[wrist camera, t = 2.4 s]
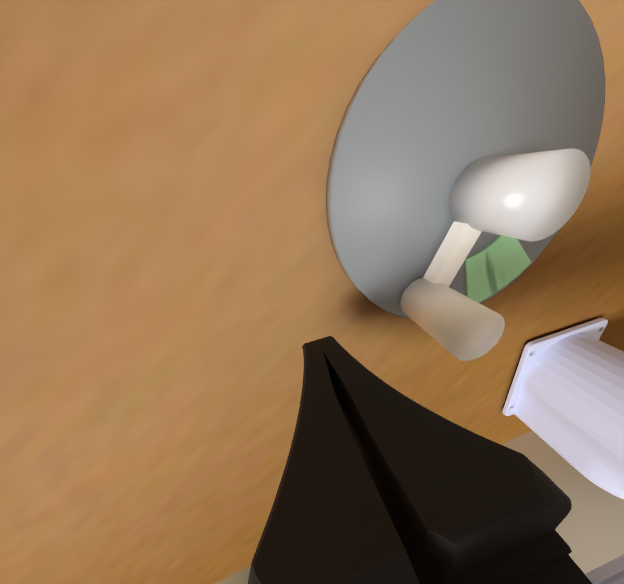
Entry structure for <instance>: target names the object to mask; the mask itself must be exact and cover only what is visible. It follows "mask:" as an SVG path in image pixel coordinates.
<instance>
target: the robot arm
mask: <svg viewBox="0 0 624 584" xmlns="http://www.w3.org/2000/svg"><path fill="white" fill-rule="evenodd" d="M607 323H608V320H606V319H604V318H598V319H595V320H592V321H589V322H586V323H583V324H580V325H577V326H575V327H572V328H569V329H566V330H563V331H560V332H557V333H554V334H551V335H548V336H545V337H542V338H539V339H536V340H533V341H530V342H528V343H527V344H526V345H525V347H524V350H523V353H522V356H521V358H520V361H519V364H518V367H517V370H516V373H515V376H514V379H513V382H512V385H511V388H510V390H509V393H508V396H507V399H506V402H505V405H504V408H503V411H502V413H503V414H504V415H506V416H510V415H513V414H515V415H516V416H517V417H518V418H519V419H520V420H522V421H523V422H524V423H525V424H526V425H527V426H528V427H529V428H531V429H532V430H533V431H534V432H535V433H536V434H537V435H539V436H540V437H541V438H542V439H543V440H544V441H545V442H546V443H547V444H549V445H550V446H551V447H552V448H553V449H554V450H555V451H556V452H558V453H559V454H560V455H561V456H562V457H563V458H564V459H565V460H567V461H568V462H569V463H570V464H571V465H572V466H573V467H574V468H576V469H577V470H578V471H579V472H580V473H581V474H582V475H584V476H585V477H586V478H587V479H589V480H590V481H591V482H593V483H594V484H596V485H597V486H599V487H600V488H602V489H604V490H606V491H607V492H609V493H611V494H613V495H615V496H617V497H619V498H621V499H624V351H622V350H619V349H617V348H615V347H613V346H611V345H608V344H606V343H604V342H602V341H600V340H599V338H600V336H601V334H602V333H603V331H604V329H605V327H606V325H607ZM302 348H303V353H304V375H303V387H302V394H301V402H300V408H299V414H298V419H297V423H296V428H295V432H294V437H293V440H292V444H291V448H290V452H289V456H288V459H287V463H286V466H285V470H284V473H283V476H282V479H281V482H280V485H279V488H278V491H277V494H276V497H275V501H274V503H273V506H272V509H271V512H270V515H269V517H268V520H267V523H266V525H265V528H264V531H263V533H262V536H261V539H260V541H259V544H258V547H257V549H256V552H255V555H254V557H253V560H252V564H251V569H250V575H249V580H248V584H624V555H622V556H620V557H618V558H616V559H614V560H612V561H610V562H608V563H606V564H604V565H602V566H600V567H598V568H596V569H594V570H592V571H590V572H588V573H586V574H584V573H583V572H582V570H580V568H579V567H578V566H577V565H576V563H575V562H574V561H573V560H572V559H571V558H570V556H569V555H568V554H570V553H571V552H572V551H571V549H570V547H569V546H568V545H567V543H565V541H564V540H563V539H562V538H561V536H560V535H559V534H558V533H557V532H556V531H555V529H556V527H557V526H558V525H559V524H560V523H561V522H562V520H563V519H564V518H565V517H566V516H567V514H568V513H569V512H570V510H571V500H570V498H569V497H568V496H567V495H566V494H565V493H564V492H563V491H562V490H561V489H560V488H559V487H558V486H557V485H556V484H555V483H554V482H553V481H552V480H551V479H550V478H549V477H548V476H547V475H546V474H545V473H543V471H541V470H540V469H539V468H538V467H537V466H536V465H534V464H533V463H532V462H531V461H530V460H529V459H528V458H527V457H525V456H524V455H523V454H521V453H519V452H516V451H514V450H512V449H509V448H507V447H505V446H502V445H500V444H498V443H495V442H493V441H491V440H488V439H486V438H484V437H482V436H480V435H477V434H475V433H473V432H471V431H469V430H467V429H465V428H463V427H461V426H459V425H457V424H455V423H453V422H451V421H449V420H447V419H445V418H443V417H441V416H439V415H438V414H436V413H434V412H432V411H430V410H428V409H426V408H425V407H423V406H421V405H419V404H418V403H416V402H414V401H413V400H411V399H409V398H408V397H406V396H404V395H403V394H401V393H400V392H398V391H397V390H395V389H394V388H392V387H391V386H389V385H388V384H386V383H385V382H384V381H382V380H381V379H379V378H378V377H377V376H375V375H374V374H373V373H372V372H370V371H369V370H368V369H366V368H365V367H364V366H363V365H362V364H361V363H359V362H358V361H357V360H356V359H355V358H353V357H352V356H351V355H350V354H349V353H348V352H347V351H346V350H345V349H344V348H343V347H342V346H341V345H340V344H339V343H338V342H337V341H336V340H335V339H334V338H333V337H332V336H329V337H325V338H322V339H319V340H315V341H312V342H309V343H305V344H304V345H303V346H302Z"/></svg>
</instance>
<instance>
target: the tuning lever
mask: <svg viewBox="0 0 624 584" xmlns="http://www.w3.org/2000/svg"><path fill="white" fill-rule="evenodd" d="M589 180H590V162H589V159H588V157H587V156H586V154H585V153H584V152H583V151H581V150H578V149H562V150H553V151H543V152H534V153H525V154H515V155H506V156H497V157H487V158H482V159H479V160H477V161H475V162H473V163H472V164H470V165H469V166H468V167H467V168H466V169H465V170H464V171H463V172H462V173H461V174H460V176H459V177H458V179H457V180H456V182H455V184H454V186H453V189H452V192H451V195H450V201H449V210H450V215H451V217H452V219H453V221H454V222H453V224H452V226H451V227H450V229H449V231H448V233H447V235H446V237H445V238H444V240H443V242H442V244H441V246H440V248H439V249H438V251H437V253H436V255H435V257H434V259H433V260H432V262H431V264H430V266H429V268H428V270H427V271H426V273H425V275H424V277H423V278H420V279H417V280H415V281H414V282H412V283H411V284H410V285H409V286H408V287H407V288H406V289H405V291H404V292H403V294H402V297H401V302H400V305H401V309H402V311H403V312H404V313H405V314H406V315H407V316H408V317H410V318H411V319H412V320H413V321H414V322H415V323H416V324H418V325H419V326H420V327H421V328H422V329H423V330H424V331H426V332H427V333H428V334H429V335H430V336H431V337H433V338H434V339H435V340H436V341H437V342H438V343H439V344H441V345H442V346H443V347H444V348H445V349H446V350H447V351H449V352H450V353H451V354H452V355H453V356H454V357H456V358H457V359H458V360H461V361H469V360H473V359H476V358H478V357H481V356H482V355H484V354H485V353H487V352H488V351H489V350H490V349H492V348H493V347H494V346H495V344H496V343H497V342H498V341H499V339H500V337H501V336H502V334H503V331H504V327H505V322H504V318H503V317H502V316H501V315H500V314H498V313H497V312H495V311H493V310H491V309H489V308H487V307H485V306H483V305H482V304H480V303H478V302H476V301H474V300H472V299H470V298H469V297H467V296H465V295H463V294H461V293H459V292H457V291H456V290H454V289H452V288H450V287H449V286H450V284H451V282H452V281H453V279H454V277H455V276H456V274H457V272H458V271H459V269H460V267H461V265H462V264H463V262H464V260H465V259H466V257H467V255H468V254H469V252H470V250H471V249H472V247H473V245H474V244H475V242H476V240H477V239H478V237H479V235H480V234H481V232H482V231H483V232H488V233H493V234H497V235H502V236H507V237H511V238H516V239H521V240H525V241H539V240H542V239H545V238H547V237H549V236H550V235H552V234H554V233H555V232H556V231H558V230H559V229H560V228H561V227H562V226H563V225H564V224H565V223H566V222H567V221H568V220H569V219H570V218H571V217H572V215H573V214H574V213H575V211H576V210H577V208H578V207H579V205H580V203H581V201H582V199H583V197H584V195H585V193H586V190H587V187H588V184H589Z"/></svg>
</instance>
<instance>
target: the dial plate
mask: <svg viewBox="0 0 624 584" xmlns="http://www.w3.org/2000/svg"><path fill="white" fill-rule="evenodd" d="M604 104H605V72H604V61H603V55H602V51H601V47H600V42H599V38H598V35H597V33H596V30H595V28H594V26H593V23H592V21H591V18H590V17H589V15H588V14H587V12H586V11H585V9H584V7H583V6H582V4H581V3H580V1H579V0H436V1H434V2H433V3H431V4H430V5H429V6H428V7H427V8H425V9H424V10H423V11H422V12H421V13H420V14H419V15H418V16H417V17H415V18H414V19H413V20H412V21H411V22H410V23H409V24H408V25H407V26H406V27H405V28H404V29H403V30H402V31H401V32H400V33H399V34H398V35H397V36H396V37H395V38H394V39H393V40H392V41H391V43H390V44H389V45H388V46H387V47H386V48H385V49H384V51H383V52H382V53H381V54H380V55H379V56H378V58H377V59H376V60H375V61H374V63H373V64H372V66H371V67H370V69H369V70H368V72H367V73H366V75H365V76H364V78H363V79H362V81H361V82H360V84H359V85H358V87H357V89H356V91H355V93H354V95H353V97H352V99H351V101H350V103H349V105H348V107H347V109H346V111H345V114H344V116H343V119H342V121H341V124H340V127H339V129H338V132H337V135H336V139H335V142H334V146H333V150H332V154H331V157H330V163H329V170H328V177H327V189H326V210H327V222H328V228H329V233H330V238H331V242H332V245H333V248H334V251H335V254H336V256H337V259H338V261H339V263H340V265H341V266H342V268H343V270H344V272H345V273H346V275H347V276H348V277H349V279H350V280H351V282H352V283H353V284H354V285H355V286H356V287H357V288H358V289H359V290H360V291H361V292H362V293H363V294H364V295H365V296H366V297H367V298H368V299H369V300H370V301H371V302H373V303H374V304H375V305H377V306H378V307H380V308H381V309H383V310H385V311H387V312H390V313H392V314H394V315H398V316H401V317H405V318H410V317H408V316H407V315H406V314H405V313H404V312H403V311H402V309H401V305H400V302H401V297H402V294H403V292H404V291H405V289H406V288H407V287H408V286H409V285H410V284H411V283H412V282H414V281H415V280H417V279H420V278H423V277H424V275H425V273H426V271H427V270H428V268H429V266H430V264H431V262H432V260H433V259H434V257H435V255H436V253H437V251H438V249H439V248H440V246H441V244H442V242H443V240H444V238H445V237H446V235H447V233H448V231H449V229H450V227H451V226H452V224H453V222H454V221H453V219H452V217H451V215H450V210H449V201H450V195H451V192H452V189H453V186H454V184H455V182H456V180H457V179H458V177H459V176H460V174H461V173H462V172H463V171H464V170H465V169H466V168H467V167H468V166H469V165H470V164H472V163H473V162H475V161H477V160H479V159H482V158H487V157H497V156H506V155H515V154H525V153H534V152H543V151H553V150H562V149H578V150H581V151H583V152H584V153H585V154H586V156H587V157H588V159H589V162H590V167H591V164H592V161H593V158H594V155H595V151H596V148H597V145H598V140H599V136H600V131H601V126H602V120H603V112H604ZM557 232H558V231H556V232H555V233H554V234H552V235H550V236H549V237H547V238H545V239H542V240H539V241H525V240H521V239H516V238H511V237H507V236H502V235H497V234H493V233H488V232H483V231H482V232H481V234H480V235H479V237H478V239H477V240H476V242H475V244H474V245H473V247H472V249H471V250H470V252H469V254H468V255H467V257H466V259H465V260H464V262H463V264H462V265H461V267H460V269H459V271H458V272H457V274H456V276H455V277H454V279H453V281H452V282H451V284H450V286H449V287H450V288H452V289H454V290H456V291H457V292H459V293H461V294H463V295H465V296H467V297H469V298H470V299H472V300H474V301H476V302H478V303H480V304H481V303H483V302H484V301H486V300H488V299H489V298H491V297H493V296H494V295H496V294H497V293H499V292H500V291H501V290H503V289H504V288H506V287H507V286H508V285H509V284H510V283H512V282H513V281H514V280H515V279H516V278H518V277H519V276H520V275H521V274H522V273H523V272H524V271H525V270H526V269H527V268H528V267H529V266H530V265H531V264H532V263H533V262H534V261H535V260H536V259H537V257H538V256H539V255H540V254H541V253H542V252H543V251H544V249H545V248H546V247H547V245H548V244H549V243H550V241H551V240H552V239H553V238H554V236H555V235H556V233H557Z"/></svg>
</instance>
